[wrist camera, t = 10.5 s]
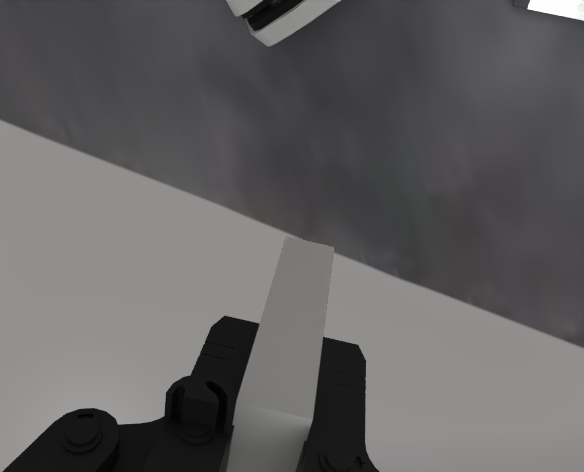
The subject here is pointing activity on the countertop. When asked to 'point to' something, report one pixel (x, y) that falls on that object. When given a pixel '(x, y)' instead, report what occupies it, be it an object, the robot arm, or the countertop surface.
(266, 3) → the hinge
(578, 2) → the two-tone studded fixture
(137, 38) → the countertop surface
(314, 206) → the countertop surface
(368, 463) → the robot arm
